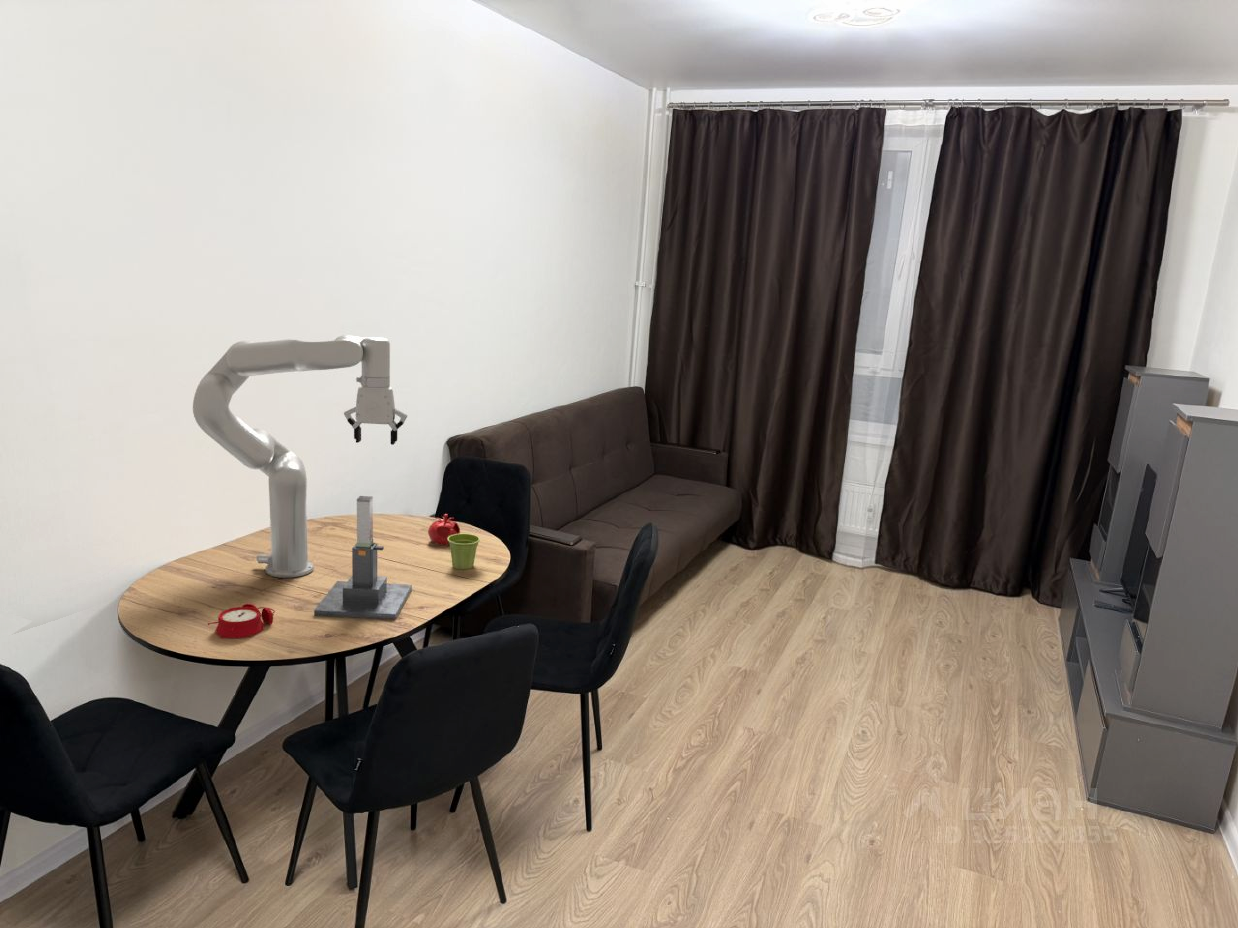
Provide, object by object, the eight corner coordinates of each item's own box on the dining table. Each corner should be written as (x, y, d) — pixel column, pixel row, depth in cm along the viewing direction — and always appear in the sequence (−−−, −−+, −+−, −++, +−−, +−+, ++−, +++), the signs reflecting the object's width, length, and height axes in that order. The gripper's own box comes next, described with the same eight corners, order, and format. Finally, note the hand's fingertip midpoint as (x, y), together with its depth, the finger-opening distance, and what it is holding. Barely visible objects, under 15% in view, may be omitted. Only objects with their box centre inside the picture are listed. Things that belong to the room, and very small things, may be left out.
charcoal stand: (314, 615, 213) (313, 556, 209) (337, 586, 232) (336, 531, 229) (395, 619, 214) (395, 560, 210) (411, 589, 233) (412, 535, 230)
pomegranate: (422, 541, 274) (422, 513, 271) (450, 535, 280) (449, 508, 278) (438, 549, 266) (438, 520, 264) (466, 543, 273) (466, 515, 271)
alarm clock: (200, 620, 198) (249, 587, 211) (207, 642, 201) (254, 608, 213) (234, 630, 194) (282, 595, 207) (240, 652, 197) (287, 617, 210)
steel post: (356, 561, 219) (356, 499, 215) (360, 557, 222) (359, 495, 218) (370, 562, 219) (369, 500, 215) (373, 558, 222) (373, 496, 218)
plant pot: (485, 565, 256) (486, 537, 254) (467, 574, 247) (467, 545, 245) (459, 558, 259) (459, 531, 257) (440, 567, 251) (440, 539, 249)
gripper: (340, 382, 234) (340, 443, 238) (404, 386, 235) (403, 447, 239) (347, 378, 241) (348, 438, 245) (409, 382, 242) (409, 441, 246)
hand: (375, 442), depth 242 cm, fingers open, 9 cm apart
